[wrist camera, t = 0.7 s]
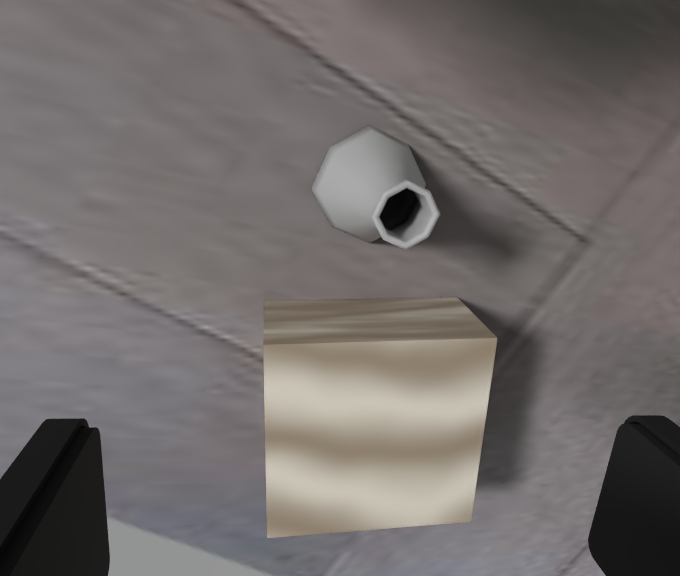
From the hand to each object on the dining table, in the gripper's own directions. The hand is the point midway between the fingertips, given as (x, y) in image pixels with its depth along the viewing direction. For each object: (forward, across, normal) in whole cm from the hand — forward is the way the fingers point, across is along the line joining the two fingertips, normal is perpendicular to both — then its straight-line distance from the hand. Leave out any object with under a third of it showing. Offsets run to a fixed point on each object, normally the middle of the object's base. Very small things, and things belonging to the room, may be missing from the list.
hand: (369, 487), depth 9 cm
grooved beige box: (+27, -5, +13) cm, 30 cm away
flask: (+27, -5, -2) cm, 27 cm away
